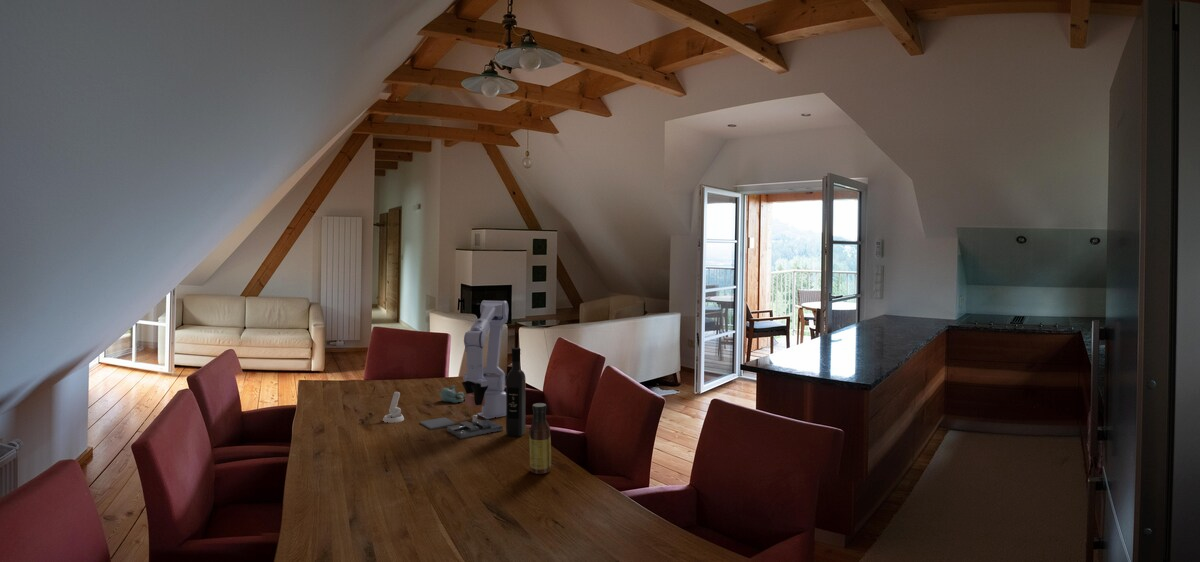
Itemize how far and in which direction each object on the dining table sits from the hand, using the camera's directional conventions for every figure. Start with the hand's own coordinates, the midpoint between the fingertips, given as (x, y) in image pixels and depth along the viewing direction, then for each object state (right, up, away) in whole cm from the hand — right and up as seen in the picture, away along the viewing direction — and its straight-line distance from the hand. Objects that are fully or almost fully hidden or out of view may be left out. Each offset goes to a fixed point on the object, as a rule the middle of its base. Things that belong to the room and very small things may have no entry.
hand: (474, 403), depth 226 cm
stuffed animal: (-17, -7, +42) cm, 46 cm away
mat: (-15, -9, +8) cm, 19 cm away
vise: (0, -10, +1) cm, 10 cm away
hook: (-33, -9, +13) cm, 36 cm away
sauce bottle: (+26, -13, -38) cm, 48 cm away
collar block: (0, -1, 0) cm, 1 cm away
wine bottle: (+15, -10, -3) cm, 18 cm away
